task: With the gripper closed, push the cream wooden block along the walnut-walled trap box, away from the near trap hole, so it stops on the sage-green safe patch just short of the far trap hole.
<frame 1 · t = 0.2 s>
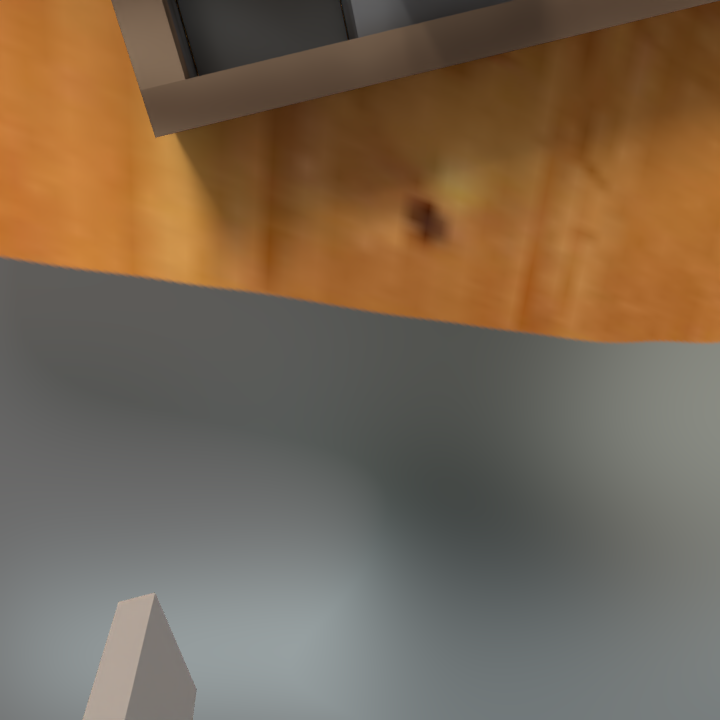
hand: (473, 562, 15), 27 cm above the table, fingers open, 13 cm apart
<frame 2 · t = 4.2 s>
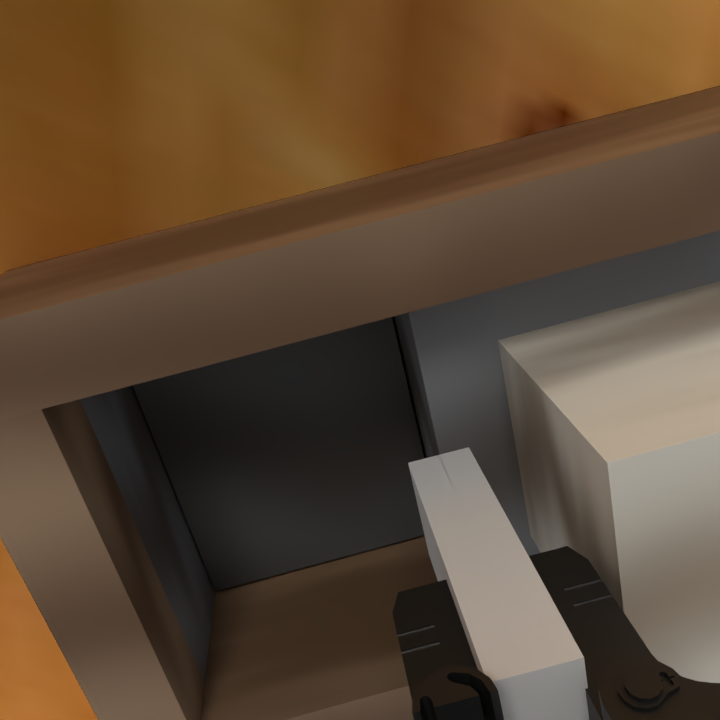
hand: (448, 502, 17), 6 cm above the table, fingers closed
trap box: (686, 327, 22), on the table
block: (625, 414, 18), point 4 cm above the table, touching gripper, trap box
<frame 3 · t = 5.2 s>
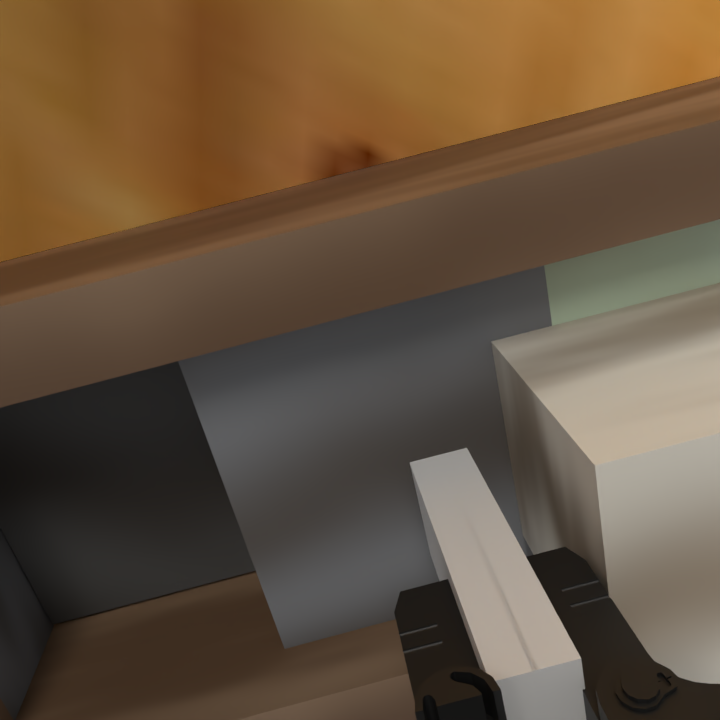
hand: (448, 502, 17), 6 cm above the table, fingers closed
trap box: (515, 363, 22), on the table
block: (617, 416, 18), point 4 cm above the table, touching gripper, trap box
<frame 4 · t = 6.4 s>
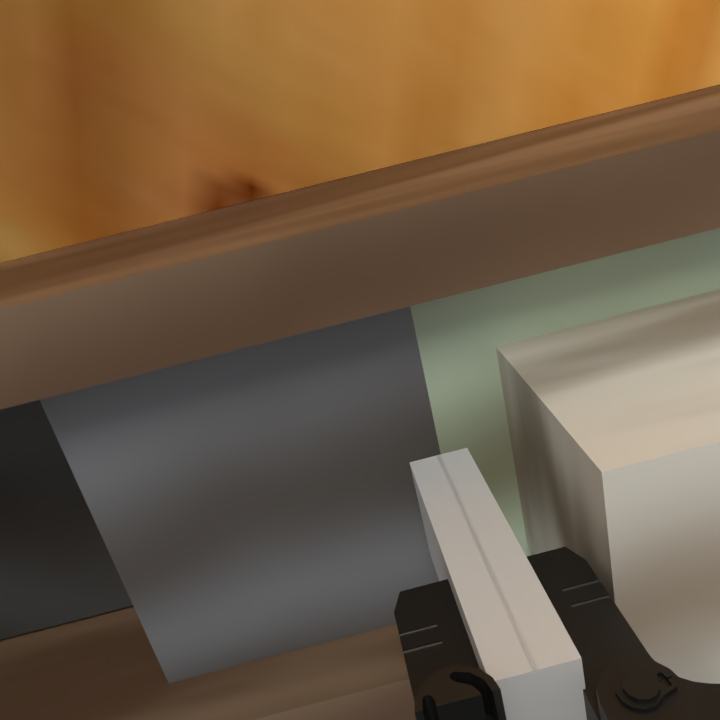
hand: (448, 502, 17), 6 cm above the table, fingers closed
trap box: (413, 395, 22), on the table
block: (621, 420, 18), point 4 cm above the table, touching gripper, trap box
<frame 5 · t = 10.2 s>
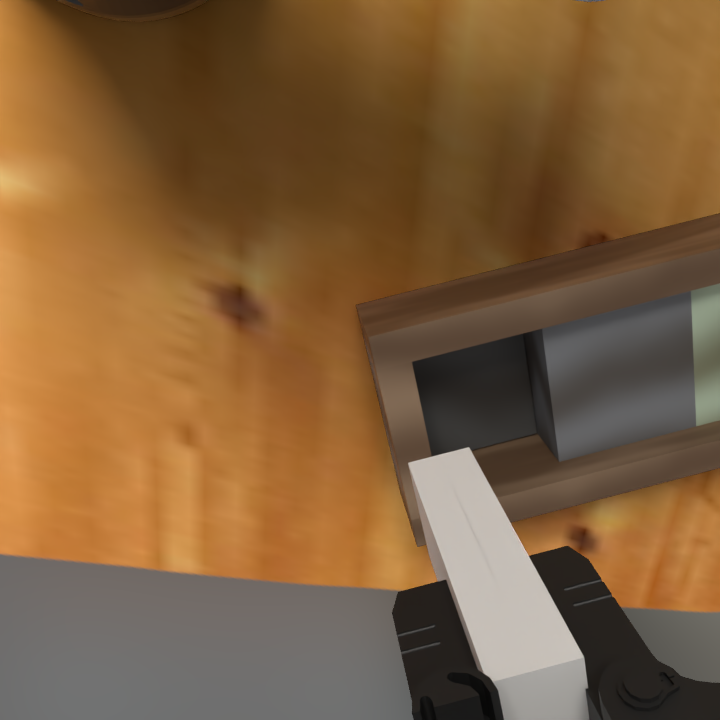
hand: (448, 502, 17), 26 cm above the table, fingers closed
trap box: (659, 333, 45), on the table
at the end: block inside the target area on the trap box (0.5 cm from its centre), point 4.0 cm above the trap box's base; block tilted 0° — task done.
